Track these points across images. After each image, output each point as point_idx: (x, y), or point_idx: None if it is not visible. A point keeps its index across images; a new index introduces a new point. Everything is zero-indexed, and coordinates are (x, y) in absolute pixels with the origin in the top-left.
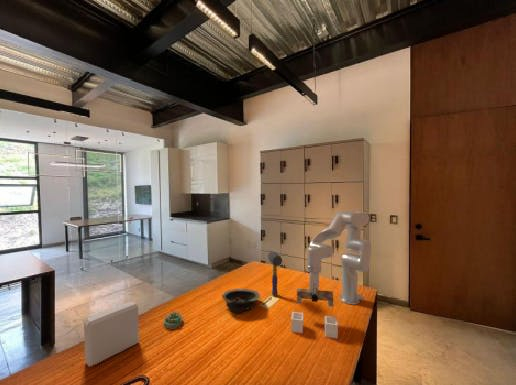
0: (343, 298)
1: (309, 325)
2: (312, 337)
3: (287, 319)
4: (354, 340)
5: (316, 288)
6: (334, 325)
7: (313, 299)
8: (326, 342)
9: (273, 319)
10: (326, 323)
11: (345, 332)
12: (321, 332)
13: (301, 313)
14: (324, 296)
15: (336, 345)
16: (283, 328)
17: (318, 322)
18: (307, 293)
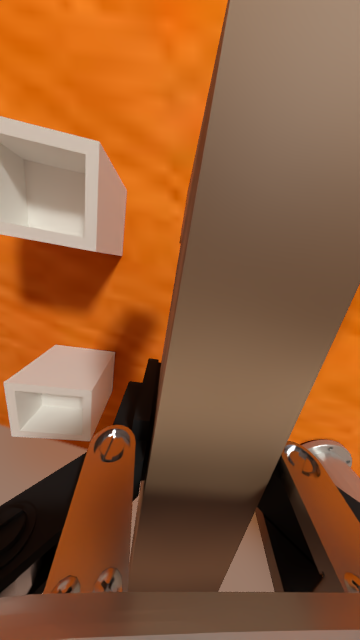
0: (316, 457)
1: (127, 289)
2: (34, 289)
3: (170, 162)
4: None
5: (272, 560)
6: (13, 418)
7: (127, 388)
8: (18, 342)
9: (163, 36)
10: (6, 387)
11: (103, 415)
12: (83, 334)
13: (88, 235)
14: (136, 525)
15: (12, 374)
16: (71, 119)
17: (157, 334)
18: (167, 353)
